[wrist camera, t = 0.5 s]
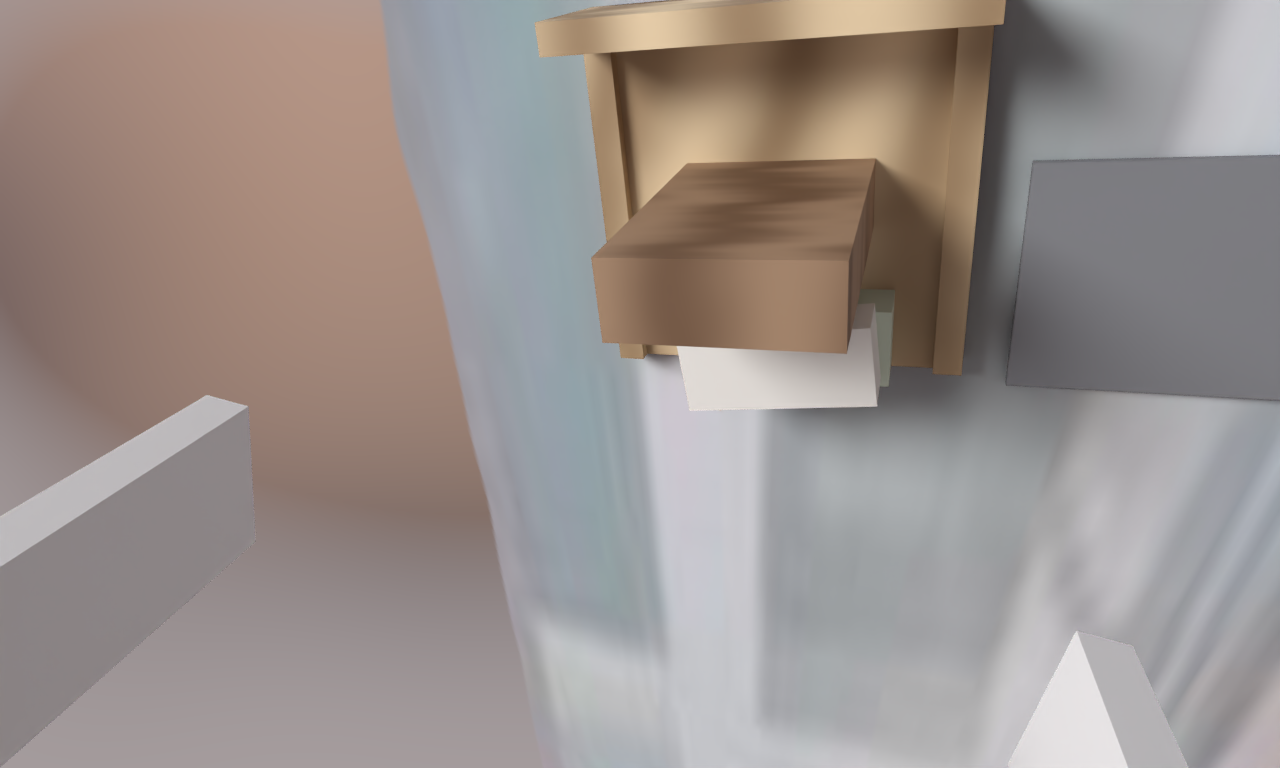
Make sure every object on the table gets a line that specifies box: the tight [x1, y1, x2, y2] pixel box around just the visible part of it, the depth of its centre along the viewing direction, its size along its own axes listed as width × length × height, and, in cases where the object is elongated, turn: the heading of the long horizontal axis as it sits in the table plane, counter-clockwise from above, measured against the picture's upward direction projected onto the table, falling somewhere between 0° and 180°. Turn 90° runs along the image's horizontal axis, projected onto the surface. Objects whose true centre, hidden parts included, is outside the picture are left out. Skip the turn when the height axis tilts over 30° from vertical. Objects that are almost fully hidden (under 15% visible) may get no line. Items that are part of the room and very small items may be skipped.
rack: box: [535, 0, 1006, 376], centre depth 34 cm, size 16×16×6 cm
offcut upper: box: [677, 303, 881, 411], centre depth 35 cm, size 8×4×2 cm, turn 101°
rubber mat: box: [1006, 155, 1280, 400], centre depth 33 cm, size 14×10×1 cm
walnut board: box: [591, 158, 876, 354], centre depth 31 cm, size 8×3×12 cm, turn 95°
